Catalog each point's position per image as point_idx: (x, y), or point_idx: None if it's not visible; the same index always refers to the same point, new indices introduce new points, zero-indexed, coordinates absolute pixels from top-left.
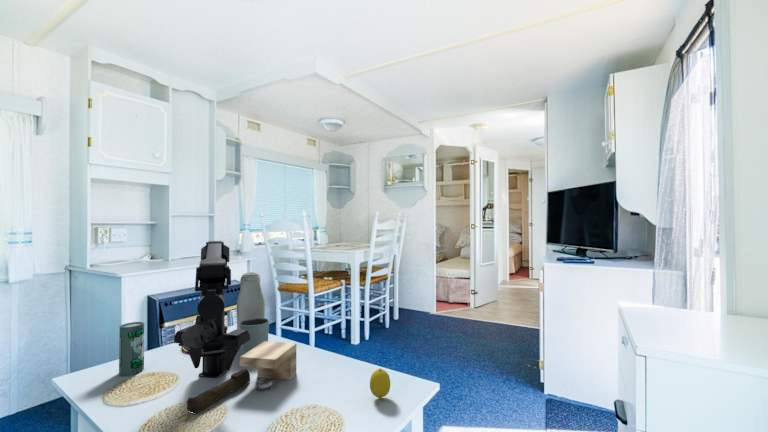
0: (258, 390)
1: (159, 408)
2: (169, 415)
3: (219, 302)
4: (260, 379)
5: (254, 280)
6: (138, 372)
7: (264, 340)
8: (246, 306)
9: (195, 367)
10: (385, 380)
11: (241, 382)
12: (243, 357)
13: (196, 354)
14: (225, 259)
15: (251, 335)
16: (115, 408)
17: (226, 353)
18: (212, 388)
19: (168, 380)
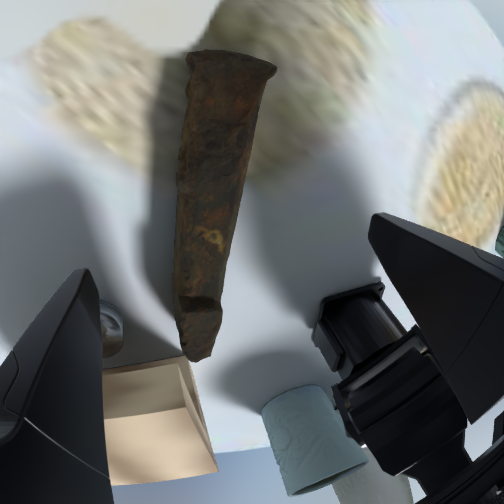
0: None
1: (384, 72)
2: (311, 27)
3: None
4: (120, 343)
5: None
6: (499, 234)
7: (275, 448)
8: (378, 490)
9: (381, 215)
10: None
11: (174, 305)
12: (160, 409)
13: (443, 288)
14: None
15: (312, 451)
16: (481, 70)
17: (4, 415)
18: (228, 199)
19: (443, 231)
